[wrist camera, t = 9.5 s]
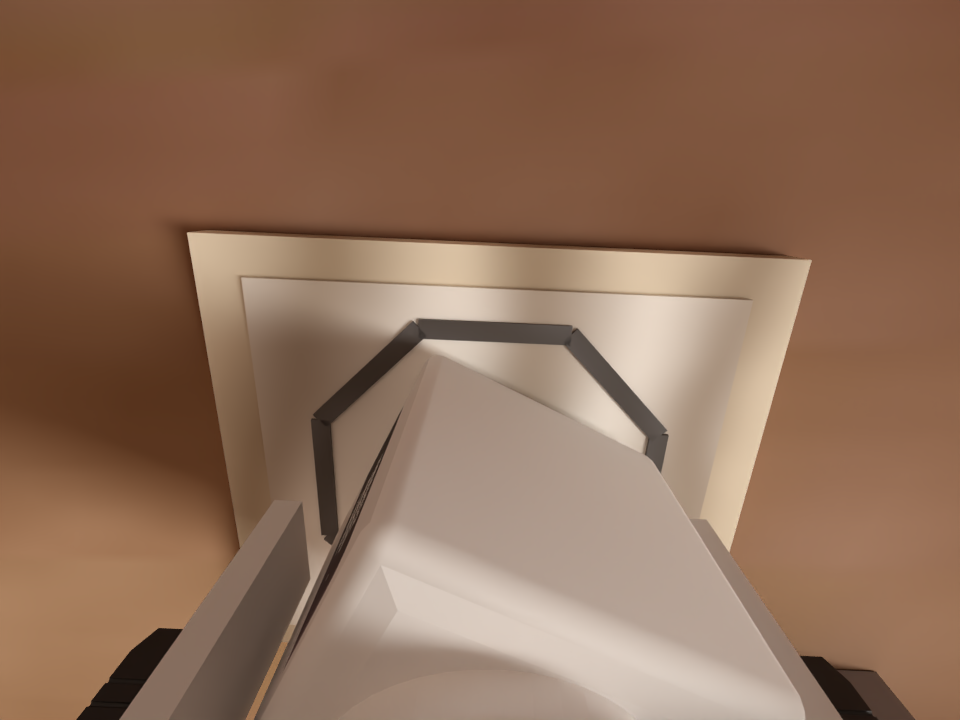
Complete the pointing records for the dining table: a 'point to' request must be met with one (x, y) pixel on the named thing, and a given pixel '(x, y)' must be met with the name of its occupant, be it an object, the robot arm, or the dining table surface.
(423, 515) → the container
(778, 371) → the drawing board
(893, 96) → the dining table surface
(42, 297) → the dining table surface
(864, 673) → the button box
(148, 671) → the robot arm
